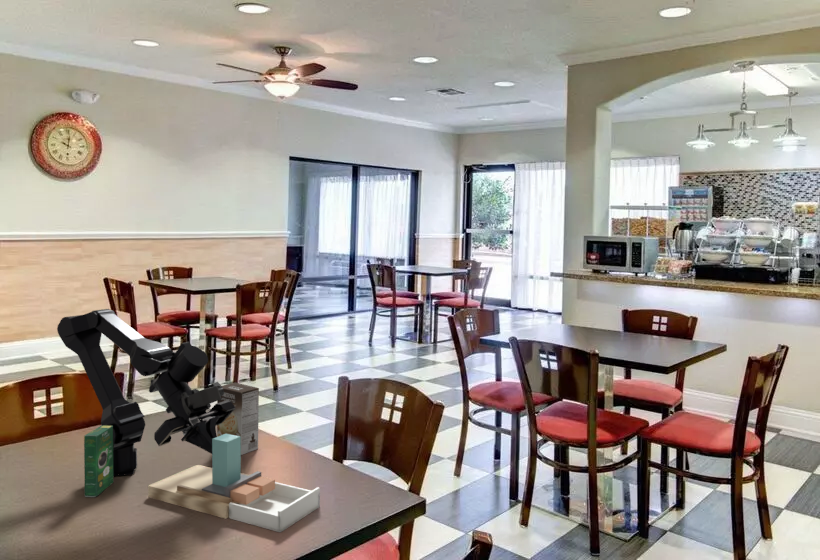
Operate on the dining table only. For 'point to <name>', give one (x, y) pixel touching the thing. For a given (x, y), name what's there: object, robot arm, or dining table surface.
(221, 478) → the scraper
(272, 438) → the dining table surface
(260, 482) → the tile
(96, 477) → the coffee box
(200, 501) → the board
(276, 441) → the dining table surface
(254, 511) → the tray
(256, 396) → the coffee box
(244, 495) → the tile
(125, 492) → the dining table surface
